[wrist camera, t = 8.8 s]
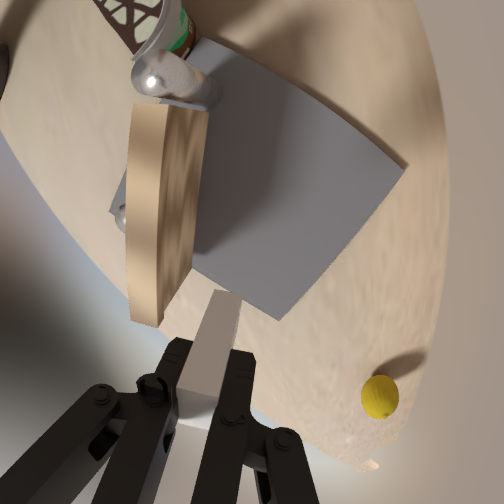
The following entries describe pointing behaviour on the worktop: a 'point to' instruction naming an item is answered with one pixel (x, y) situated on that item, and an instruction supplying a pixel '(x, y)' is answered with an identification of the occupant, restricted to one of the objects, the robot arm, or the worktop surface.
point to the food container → (151, 25)
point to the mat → (276, 183)
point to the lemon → (380, 396)
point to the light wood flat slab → (161, 204)
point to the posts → (171, 88)
